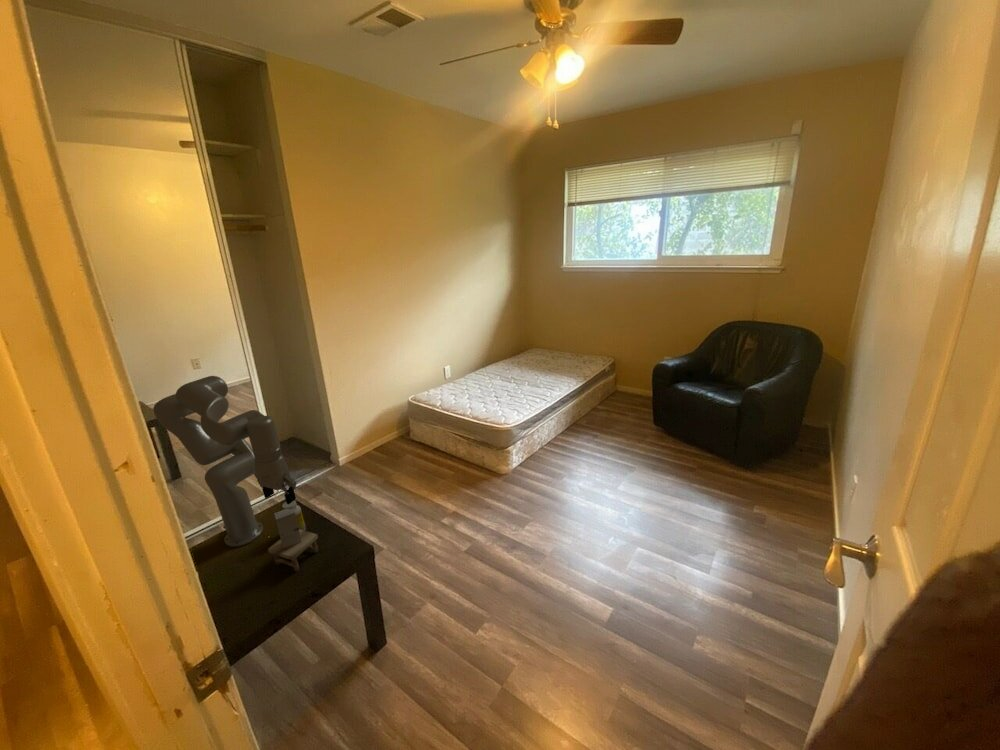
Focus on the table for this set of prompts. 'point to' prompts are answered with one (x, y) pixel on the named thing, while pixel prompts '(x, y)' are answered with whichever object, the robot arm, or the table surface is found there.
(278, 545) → the stool
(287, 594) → the table surface
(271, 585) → the table surface
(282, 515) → the skincare box
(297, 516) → the supplement bottle
